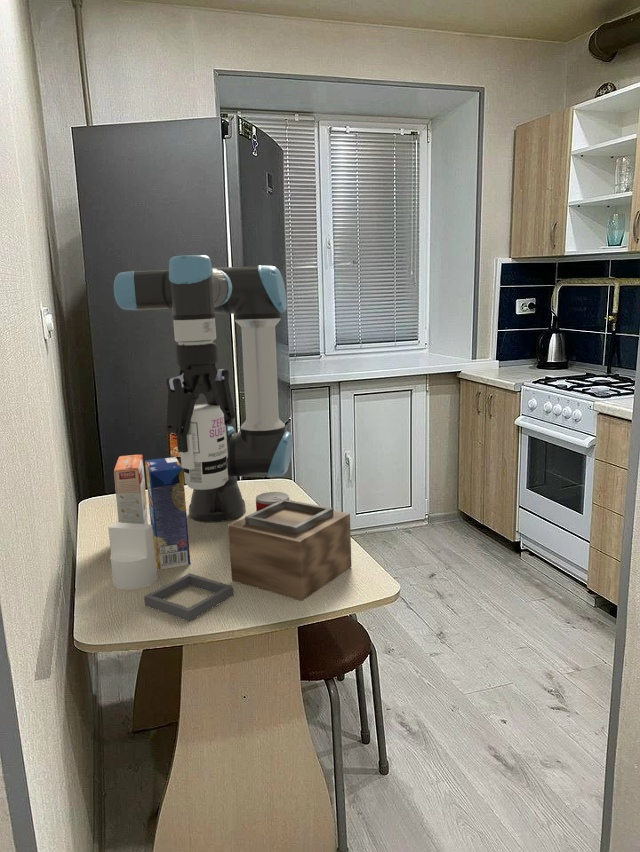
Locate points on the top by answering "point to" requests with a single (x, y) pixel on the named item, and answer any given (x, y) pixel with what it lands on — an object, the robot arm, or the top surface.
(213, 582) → the base frame
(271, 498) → the canned food
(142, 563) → the cylinder with rectangular tab
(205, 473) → the supplement can
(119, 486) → the cracker box
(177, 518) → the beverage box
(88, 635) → the top surface
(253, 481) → the top surface
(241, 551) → the riser block
